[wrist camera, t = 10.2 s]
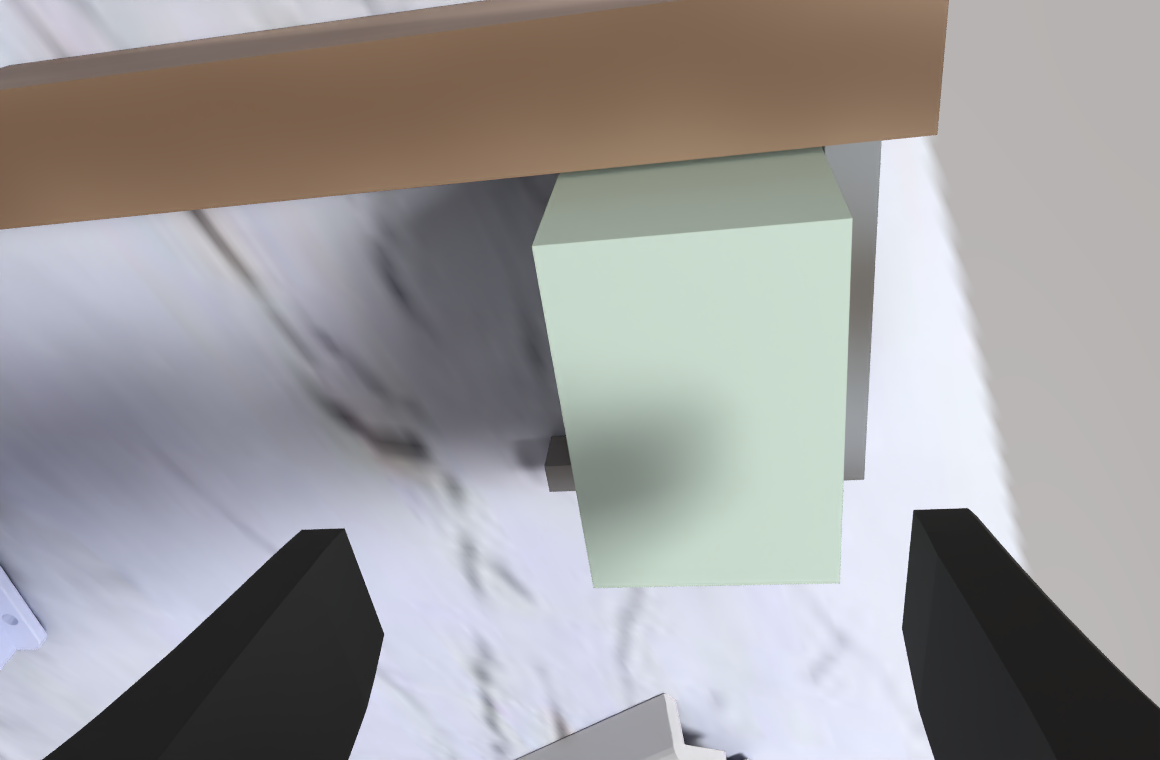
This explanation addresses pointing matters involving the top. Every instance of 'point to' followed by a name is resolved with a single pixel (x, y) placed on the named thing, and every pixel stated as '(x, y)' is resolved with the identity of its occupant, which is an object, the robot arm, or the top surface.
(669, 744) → the grey napkin holder
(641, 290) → the cabinet block
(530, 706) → the top surface
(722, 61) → the wall board
